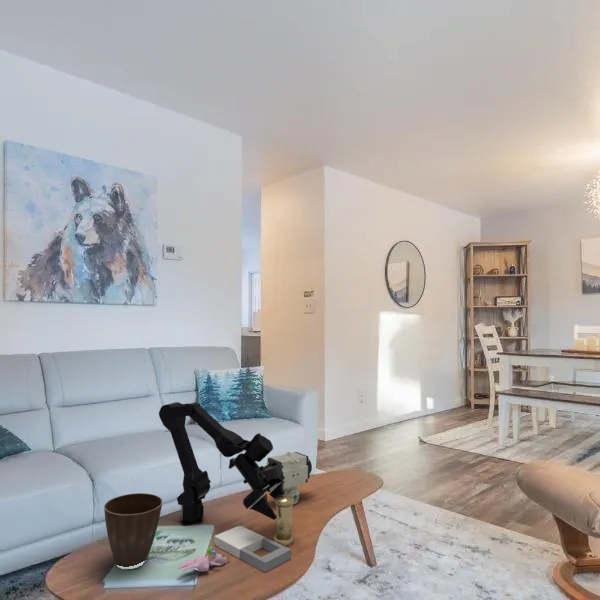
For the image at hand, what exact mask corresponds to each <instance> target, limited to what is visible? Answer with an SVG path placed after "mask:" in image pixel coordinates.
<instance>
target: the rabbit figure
mask: <svg viewBox="0 0 600 600" xmlns="http://www.w3.org/2000/svg"><path fill="white" fill-rule="evenodd" d="M213 548H214V546H209V547H208V548H207V554H208V555H206V556H204V555H198V556H196V557H194V558H193V559H187V560H184V561H183V562H181V564H180V565H179V566H178V570H181V569H182V570H181V572H185V571H187V570H189V569H194V568H197V569H198V570H199V573H202V572H203V573H204V572H208V571H209V569H210V567H213V566H217V567H218V566H224V565H225V563H226V562H228V563H230V562H231V561H230V560H231V555H229V556H228V555H226V556H225V553H226V551H224V552H220V553H217V552H216V551H215V550H213ZM209 556H212V557H211V558H209Z"/></svg>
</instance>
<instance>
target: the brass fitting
mask: <svg viewBox="0 0 600 600" xmlns="http://www.w3.org/2000/svg"><path fill="white" fill-rule="evenodd" d="M274 501H275V502H274V504H275V505H276V509H275V511H276V513H275V515H276V517H277V518H276V519H275V534H274V536H273V541H274V542H276V543H278V544H280V545H282V546H284V547H289V546H291V545H292V544H293V540H294V536H293V534H292V533H293V532H292V531H293V530H292V529H293V527H292V526H293V506H294V505H295V504H294V497H293V496H290V495H278V496H276V497H275V499H274Z"/></svg>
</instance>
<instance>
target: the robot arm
mask: <svg viewBox="0 0 600 600" xmlns="http://www.w3.org/2000/svg"><path fill="white" fill-rule="evenodd" d="M158 416H159V420H160V421H161V423H162V425H163V426H164V428H166V430H168V431H169V433H170V435H171V438H172V441H173V444H174V447H175V450H176V452H177V456H178V458H179V463H180V466H181V468H182V472H183V478H182V479H183V480H182V487H183V492H181V493H180V495H178V496H177V497H176V501H177V505H180V515H179V520H180V522H181V526H189V525H196V524H202V523H203V521H204V520H203V518H204V508H205V506H204V504H203V501H202V500H204V499H205V498H206V496H207V495H208V493H209V492H210V489H211V482H212V481H211V479H210V478H209V473H208V472H207V470H204V471H203V470H201V468H199V465H198V462H197V459H196V456H195V453H194V449H193V447H192V444H191V442H190V441H191V440H190V438H189V435H188V432H187V429H186V420H187V417H189V418H190V419H191V420H193V422H194V423H196V424H197V426H198V427H200V428H201V429H202V430H203V431H204V432H205V433H206V434H207V435H208V436H210V438H212V440H213V442H214V444H215V447H216V448H217V451H219V452H220V453H221V455H222V456H223V457H225V458H230V459H229V460H228V461H229V464H228V470H229V469H230V470H231V469H233V468H234V467H235V468H236V469H237V471H238V472H239V473H240V474H241V476H242V477H243V478H244V480H242V482H243V483H244V485H246V484H248V485H249V487H250V489H251V492H250V493H248V494H247V495H246V496H245V497H244V498H243V499H242V504H243V506H244V507H245V509H246V510H248V509H249V510H250V511H251V510H252V511H256V512H257V513H259V514H262V515H264V516H266V517H267V518H270V519H271V520H273V521H276V518H277V517H276V513H275V511H274V510H273V508H272V507H271V505H270V503H269V502H268V495H270V497H272V499H274V500H275V497H276V496H278V495H285V493H284V490H283V486H284V482H285V481H283V480H284V479H285V477H284V476H283V471H282V468H283V465H281V463H279V462H278V461H275V462H273V463H272V464H271V467H269V468H267V469H265V468H264V467H265V466H263V465H261V466H260V465H259V464H258V463H259V462H262V461H263V460H264V459H265V458H266V457H267V456H268V455H269V454H270V453H271V452H273V450H274V446H273V443H272V441H271V440H270V439H268V437H266V436H264V435H262V434H261V433H256V434H255V435H254V436H253V437H252V439H251V440H248V439H244V438H243V437H242V436H241V435H239V434H238V433H236V432H234V431H232V430H229V429H227V428H225V427H224V426H223V425H222V424H221V423H220V422H218V420H216V419H215V418H214V417H213V416H212V415H211V414H210V413H208V412H207V410H206V409H204V408H203V407H202V405H201V404H200V403H199V402H196V401H193V402H191V403H189V402H188V403H181V402H178V401H175V402H172V403H168V404H163V405H162V406H161V407H160V408H159V411H158ZM244 451H245V452H244ZM242 452H244V453H242ZM235 455H237V456H236V457H234V456H235ZM231 457H232V458H231ZM282 481H283V482H282ZM266 492H268V494H267V493H266Z"/></svg>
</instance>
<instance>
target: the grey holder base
mask: <svg viewBox="0 0 600 600" xmlns="http://www.w3.org/2000/svg"><path fill="white" fill-rule="evenodd" d="M213 545H214V546H215V545H216V547H217V546H218V547H217V548H219V549H221V550H223V551H224V552H227V553H228V554H231V555H233V556H234V557H236V558H237V559H239V560H241V561H243V562H245V563H247V564H249V565H250V566H253V567H254V568H256V569H258V570H260V571H262V572H263V573H267V572H268V571H270V570H272V569H273V568H276V567H278V566H279V565H281V564H283V563H285V562H287V561H289V560H291V557H292V554H291V551H292V549H291V548H289V547H288V546H282V545H280V544H278V543H276V542H274V540H271V539H270V538H267V537H266V536H264V535H261V534H259V533H257V532H254V531H252V530H250V529H248V528H246V527H244V526H242V525H237V526H236V527H232V528H229V529H227V530H225V531H222V532H221V533H218V534H216V535H214V536H213ZM260 549H264V550H265V551H269V553H266V554H265V555H263V556H260V555H258V554H257V553H254V552H256V551H259V550H260Z"/></svg>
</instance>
